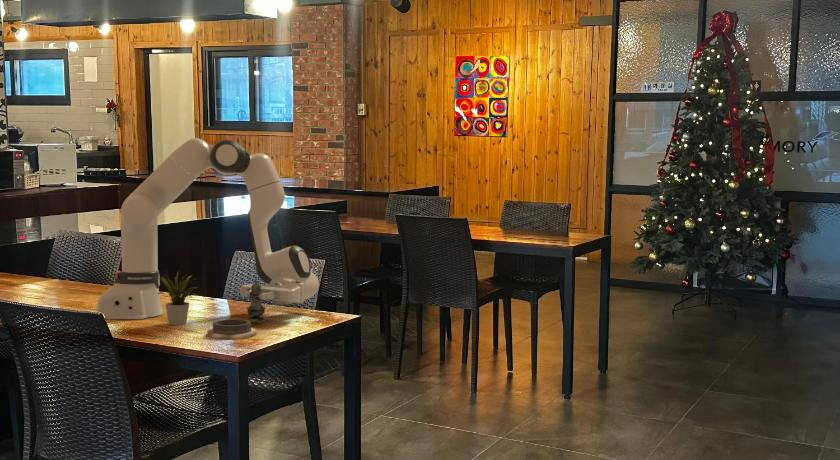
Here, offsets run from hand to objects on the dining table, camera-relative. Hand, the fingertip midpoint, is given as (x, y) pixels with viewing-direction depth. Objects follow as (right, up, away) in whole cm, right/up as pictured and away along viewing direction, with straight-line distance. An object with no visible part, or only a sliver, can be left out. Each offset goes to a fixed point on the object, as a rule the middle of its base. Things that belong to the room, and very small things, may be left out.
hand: (254, 295), depth 286 cm
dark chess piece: (0, -8, +1) cm, 8 cm away
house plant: (-24, -9, -1) cm, 26 cm away
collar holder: (-4, -10, -16) cm, 19 cm away
